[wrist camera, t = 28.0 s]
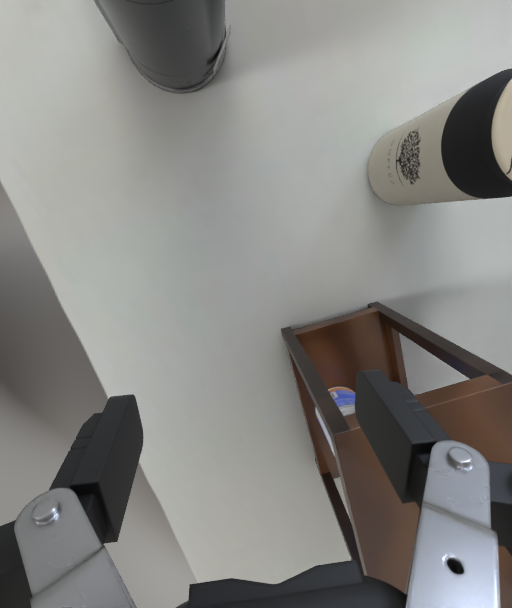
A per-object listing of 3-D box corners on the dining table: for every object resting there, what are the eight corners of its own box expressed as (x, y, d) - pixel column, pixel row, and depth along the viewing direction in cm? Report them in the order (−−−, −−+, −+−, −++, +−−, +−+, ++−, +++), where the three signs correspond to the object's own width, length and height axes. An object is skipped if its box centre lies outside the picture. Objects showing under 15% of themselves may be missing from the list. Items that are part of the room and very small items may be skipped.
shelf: (316, 465, 45) (386, 655, 26) (280, 328, 40) (333, 435, 20) (402, 440, 46) (537, 610, 26) (377, 301, 40) (522, 379, 21)
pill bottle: (359, 423, 41) (399, 484, 31) (315, 428, 41) (341, 492, 31) (358, 382, 40) (400, 433, 30) (313, 387, 39) (340, 441, 30)
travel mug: (445, 134, 37) (644, 57, 19) (426, 210, 38) (593, 203, 21) (375, 121, 36) (517, 27, 18) (359, 199, 37) (475, 182, 20)
